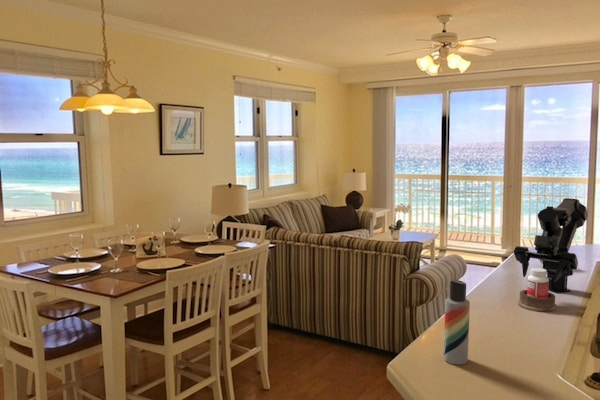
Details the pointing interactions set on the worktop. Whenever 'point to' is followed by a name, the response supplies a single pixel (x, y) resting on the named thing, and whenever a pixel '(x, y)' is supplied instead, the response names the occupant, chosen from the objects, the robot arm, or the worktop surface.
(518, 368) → the worktop surface
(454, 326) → the lotion bottle
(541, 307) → the collar stand
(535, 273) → the pill bottle
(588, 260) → the worktop surface
